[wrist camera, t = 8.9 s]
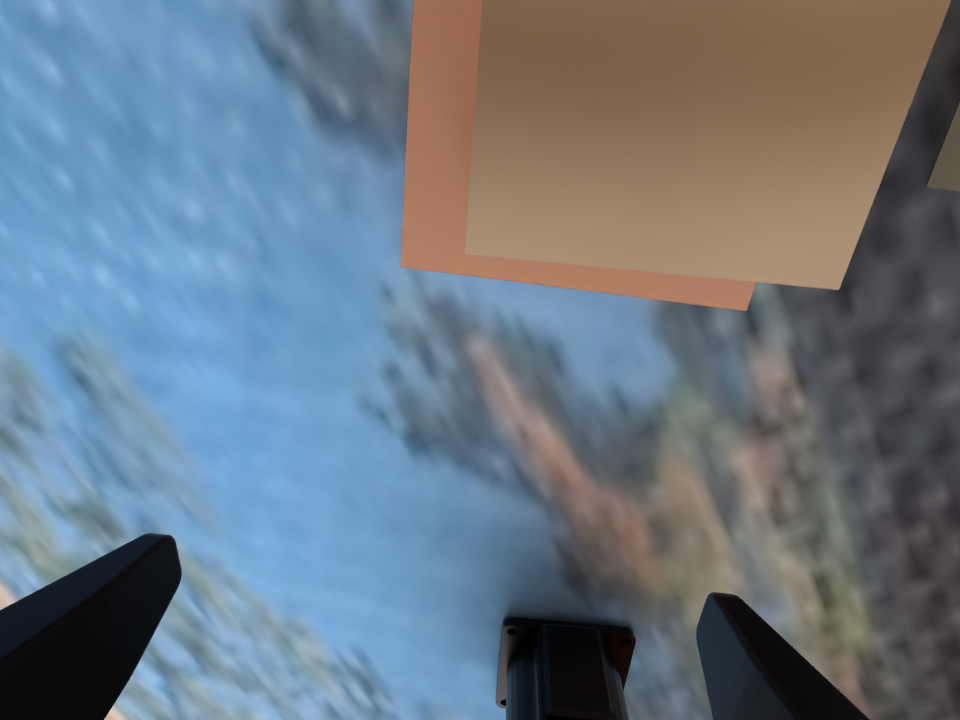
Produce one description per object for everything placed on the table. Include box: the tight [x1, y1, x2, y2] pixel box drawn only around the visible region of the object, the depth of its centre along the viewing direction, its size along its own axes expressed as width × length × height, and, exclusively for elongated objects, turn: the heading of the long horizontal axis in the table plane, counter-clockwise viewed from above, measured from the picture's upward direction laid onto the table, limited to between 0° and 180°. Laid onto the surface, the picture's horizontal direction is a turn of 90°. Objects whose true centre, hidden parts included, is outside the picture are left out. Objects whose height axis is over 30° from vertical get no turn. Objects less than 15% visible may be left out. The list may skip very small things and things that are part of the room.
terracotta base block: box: [401, 0, 756, 311], centre depth 14 cm, size 10×10×4 cm
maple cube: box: [465, 0, 951, 290], centre depth 10 cm, size 6×6×6 cm
